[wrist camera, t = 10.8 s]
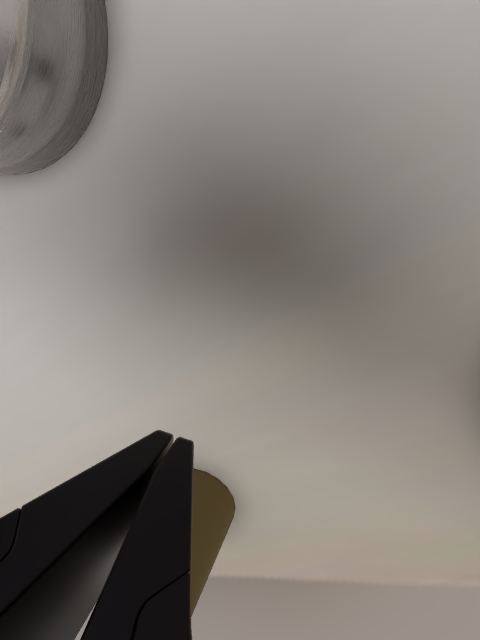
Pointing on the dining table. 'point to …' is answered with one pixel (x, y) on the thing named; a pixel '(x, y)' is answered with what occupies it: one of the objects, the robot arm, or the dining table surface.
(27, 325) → the dining table surface
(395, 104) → the dining table surface
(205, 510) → the cork
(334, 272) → the dining table surface
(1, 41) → the lid
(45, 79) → the pot
